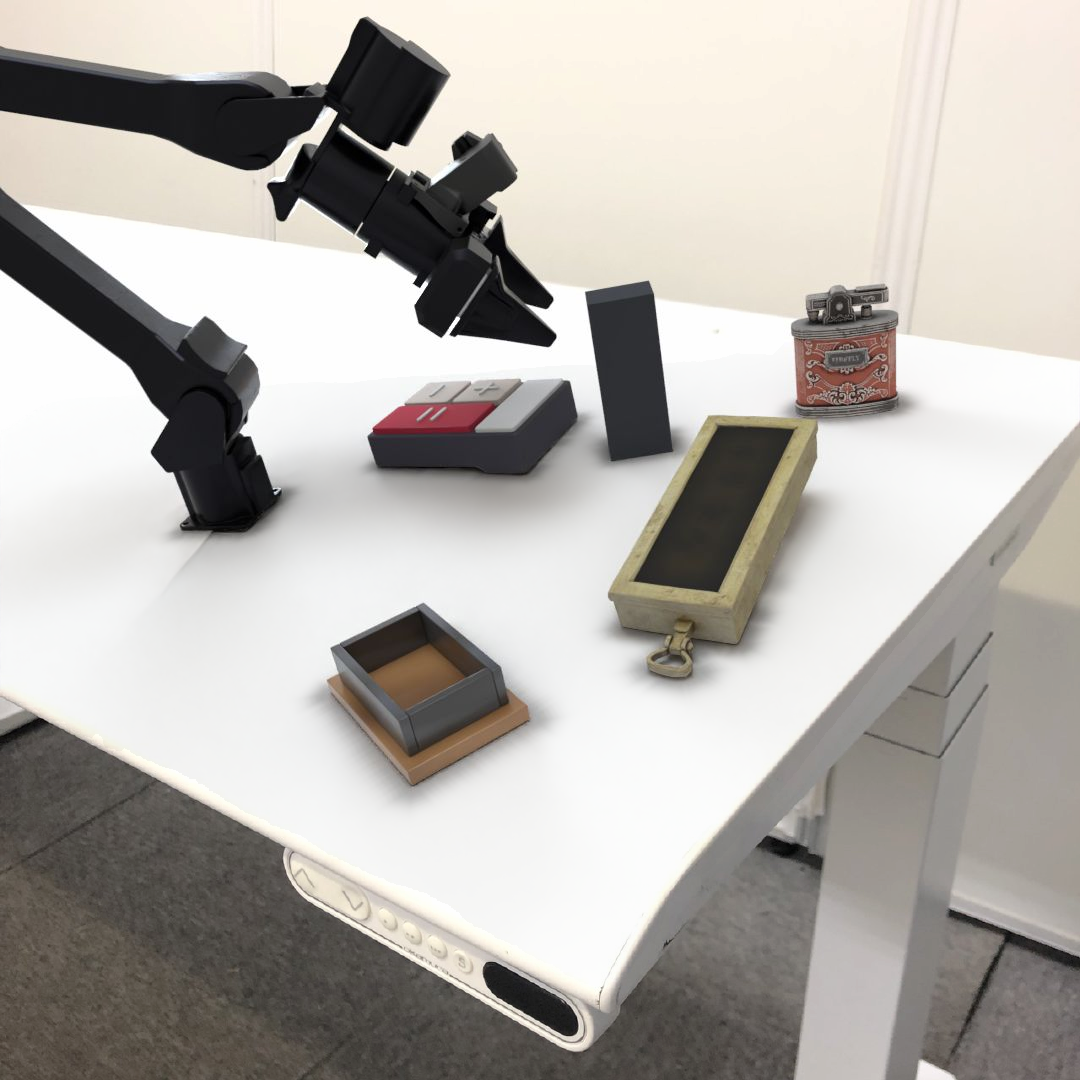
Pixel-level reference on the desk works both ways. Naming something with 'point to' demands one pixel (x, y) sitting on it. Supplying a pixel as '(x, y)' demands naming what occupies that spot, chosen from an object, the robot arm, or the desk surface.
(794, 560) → the desk surface
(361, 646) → the grey tray
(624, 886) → the desk surface
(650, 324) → the back pad
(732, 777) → the desk surface
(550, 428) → the calculator
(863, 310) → the lighter
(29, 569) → the desk surface
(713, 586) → the box
